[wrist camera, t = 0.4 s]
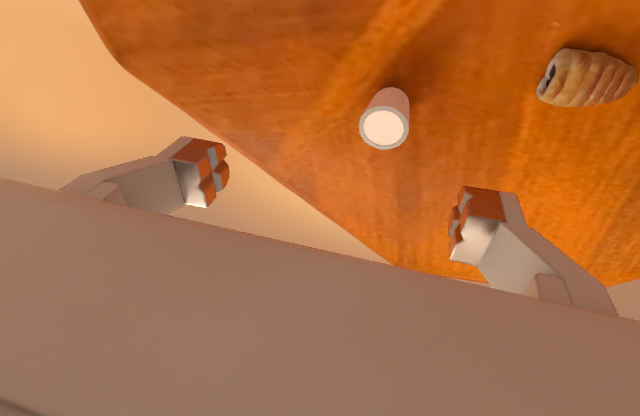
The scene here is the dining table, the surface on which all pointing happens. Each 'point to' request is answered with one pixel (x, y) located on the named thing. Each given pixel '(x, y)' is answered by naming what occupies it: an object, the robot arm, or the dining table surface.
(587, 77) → the pastry
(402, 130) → the white short cylinder
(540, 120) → the dining table surface
